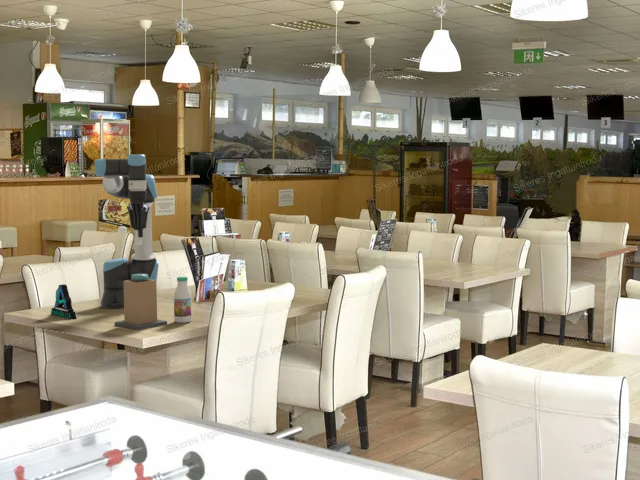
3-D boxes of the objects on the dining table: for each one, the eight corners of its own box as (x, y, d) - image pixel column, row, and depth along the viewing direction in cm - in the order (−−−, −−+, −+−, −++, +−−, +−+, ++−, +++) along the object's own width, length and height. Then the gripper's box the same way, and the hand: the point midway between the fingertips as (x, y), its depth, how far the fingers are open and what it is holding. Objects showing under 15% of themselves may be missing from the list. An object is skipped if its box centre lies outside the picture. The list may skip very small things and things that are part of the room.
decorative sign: (76, 319, 406) (75, 286, 404) (71, 320, 404) (70, 287, 402) (55, 314, 419) (54, 282, 417) (50, 314, 417) (49, 283, 416)
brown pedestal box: (114, 325, 390) (113, 281, 388) (144, 320, 401) (143, 277, 400) (137, 329, 379) (135, 284, 377) (167, 324, 391) (166, 280, 389)
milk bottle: (175, 320, 401) (174, 275, 399) (192, 319, 402) (191, 275, 400) (173, 323, 393) (172, 278, 391) (191, 323, 394) (190, 278, 392)
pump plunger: (129, 319, 390) (127, 275, 388) (142, 316, 395) (141, 273, 393) (142, 321, 383) (141, 276, 381) (156, 319, 389) (155, 275, 387)
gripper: (121, 190, 386) (122, 244, 389) (139, 190, 378) (141, 246, 380) (135, 189, 392) (136, 243, 394) (154, 190, 383) (155, 245, 386)
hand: (138, 244), depth 387 cm, fingers closed
